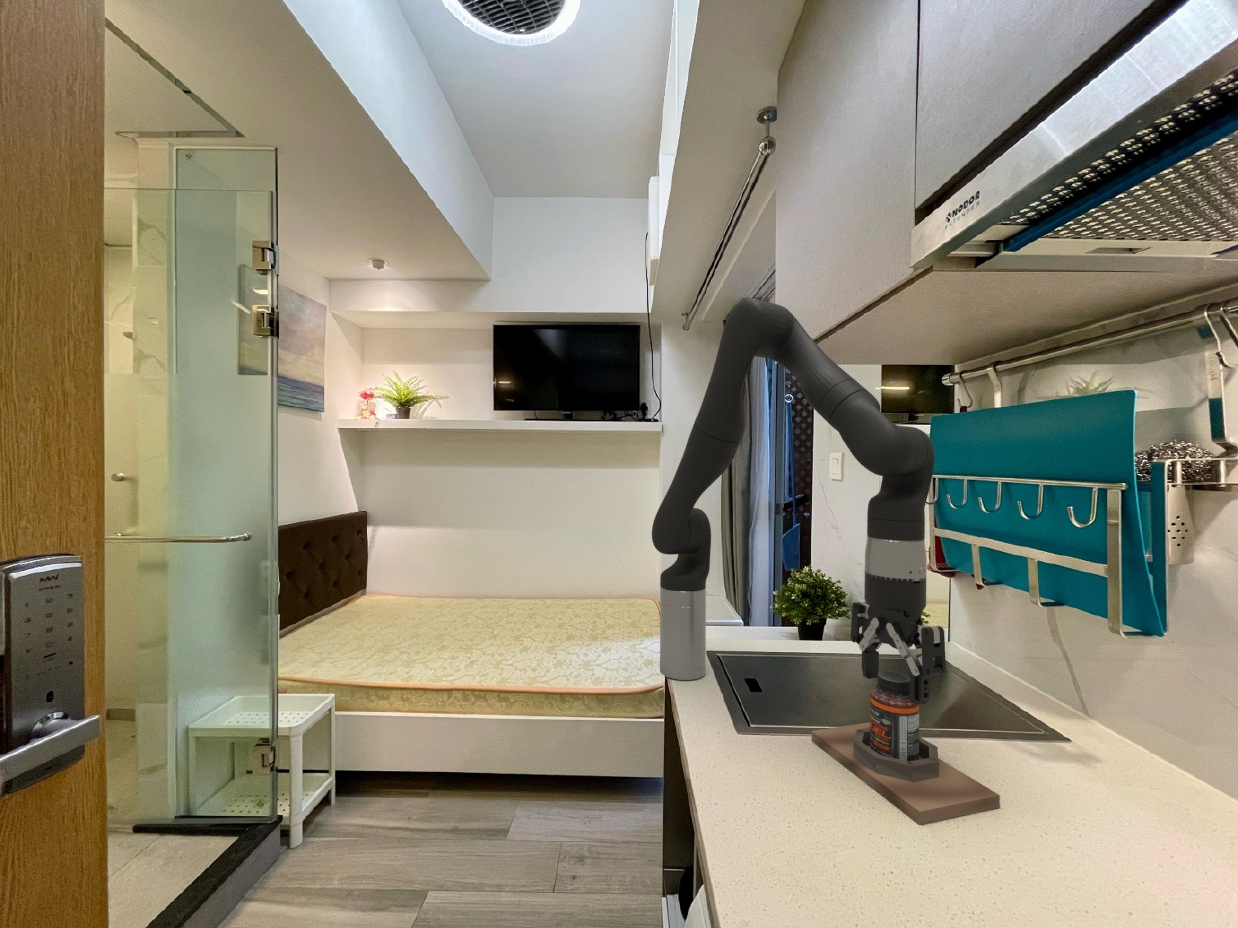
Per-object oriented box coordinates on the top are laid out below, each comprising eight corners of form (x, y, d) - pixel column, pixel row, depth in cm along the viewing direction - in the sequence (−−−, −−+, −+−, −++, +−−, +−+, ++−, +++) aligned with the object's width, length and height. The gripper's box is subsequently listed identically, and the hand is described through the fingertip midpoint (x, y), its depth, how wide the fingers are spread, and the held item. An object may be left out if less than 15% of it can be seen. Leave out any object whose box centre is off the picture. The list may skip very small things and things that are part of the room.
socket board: (811, 740, 80) (811, 717, 80) (877, 730, 84) (877, 708, 84) (919, 824, 61) (919, 793, 61) (999, 807, 64) (999, 778, 64)
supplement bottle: (860, 752, 74) (859, 670, 74) (892, 744, 76) (891, 665, 76) (896, 774, 69) (895, 686, 69) (930, 765, 71) (929, 680, 71)
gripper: (836, 562, 79) (835, 672, 79) (914, 583, 65) (913, 716, 65) (878, 561, 81) (877, 668, 81) (962, 580, 67) (961, 709, 67)
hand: (893, 689), depth 73 cm, fingers open, 8 cm apart
